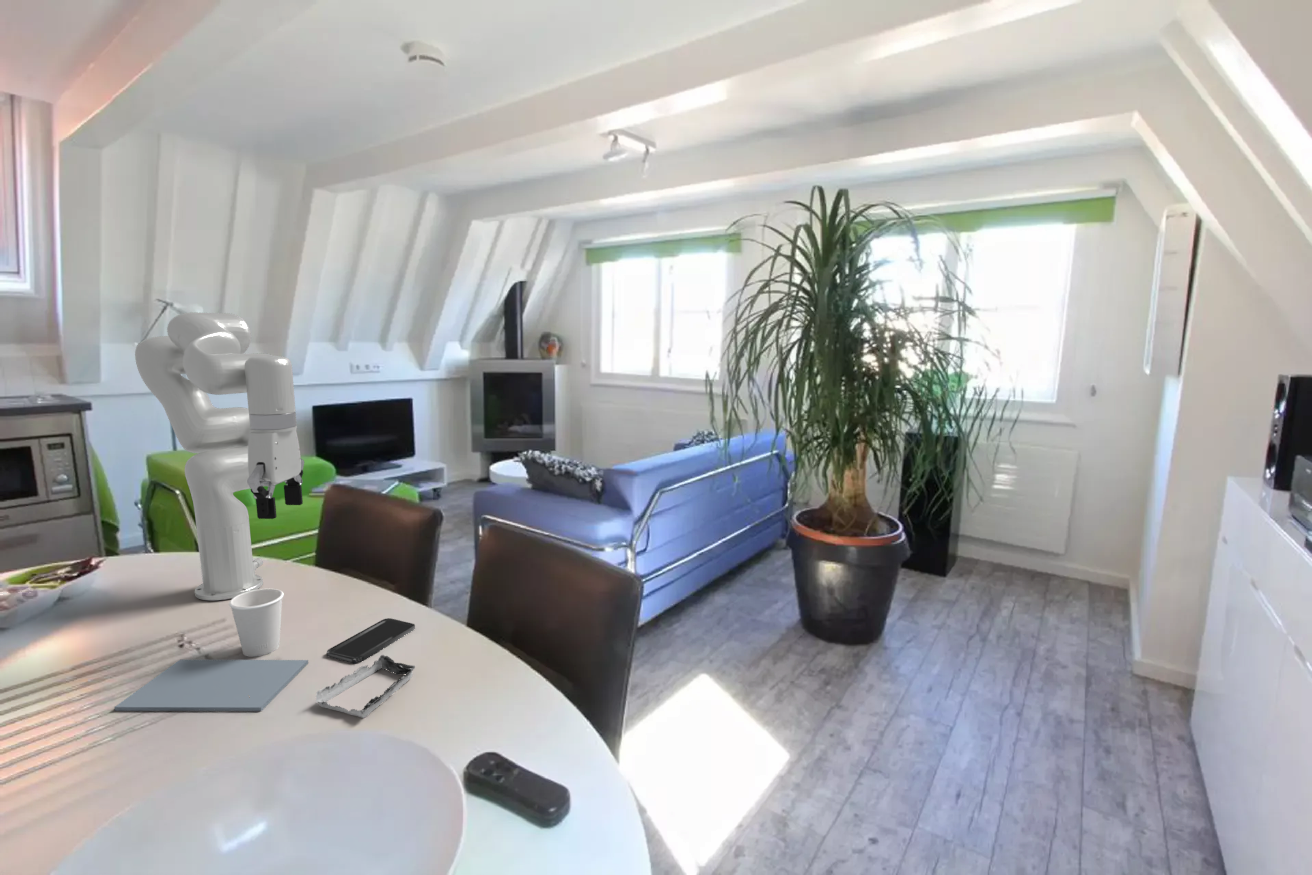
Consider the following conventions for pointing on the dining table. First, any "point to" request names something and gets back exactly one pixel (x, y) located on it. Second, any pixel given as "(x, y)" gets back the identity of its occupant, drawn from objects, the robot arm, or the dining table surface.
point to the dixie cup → (258, 620)
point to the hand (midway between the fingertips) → (281, 511)
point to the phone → (370, 641)
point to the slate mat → (214, 686)
